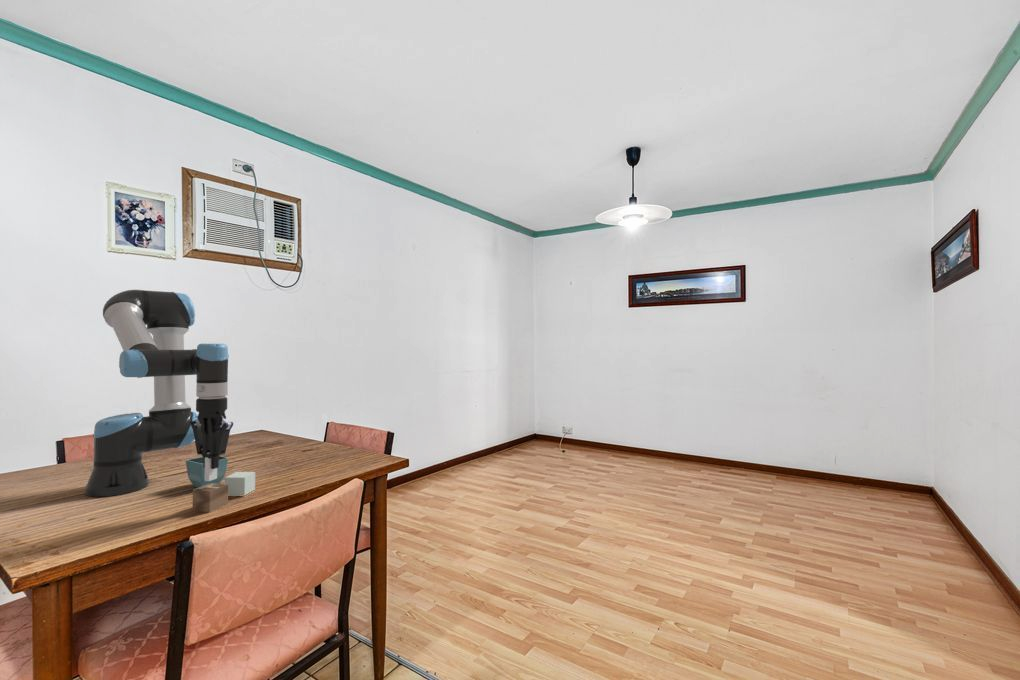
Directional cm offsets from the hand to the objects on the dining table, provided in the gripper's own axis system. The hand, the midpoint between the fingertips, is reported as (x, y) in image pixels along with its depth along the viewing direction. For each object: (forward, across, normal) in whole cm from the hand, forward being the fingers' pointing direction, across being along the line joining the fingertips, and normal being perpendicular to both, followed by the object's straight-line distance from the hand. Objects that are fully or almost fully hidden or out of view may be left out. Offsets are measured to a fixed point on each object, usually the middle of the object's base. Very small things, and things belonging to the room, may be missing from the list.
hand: (210, 479), depth 130 cm
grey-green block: (+8, -2, +12) cm, 15 cm away
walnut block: (+2, 0, 0) cm, 2 cm away
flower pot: (+8, -18, +15) cm, 24 cm away
